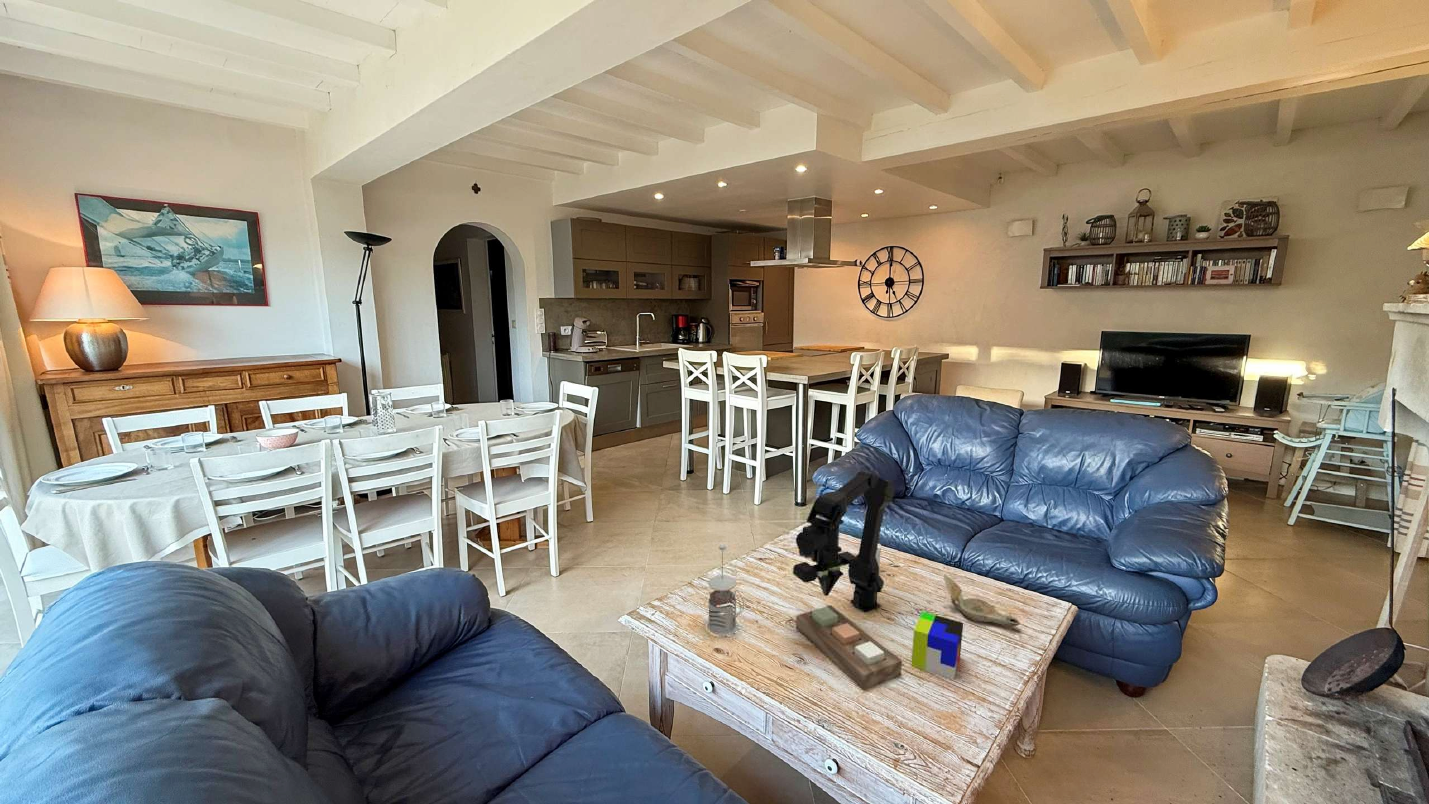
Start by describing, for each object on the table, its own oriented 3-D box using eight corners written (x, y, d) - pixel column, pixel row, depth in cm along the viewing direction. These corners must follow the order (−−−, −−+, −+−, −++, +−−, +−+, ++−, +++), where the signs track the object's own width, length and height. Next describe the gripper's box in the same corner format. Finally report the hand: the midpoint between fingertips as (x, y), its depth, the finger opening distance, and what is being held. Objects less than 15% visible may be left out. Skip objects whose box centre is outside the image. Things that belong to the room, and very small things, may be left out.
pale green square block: (826, 616, 158) (826, 606, 157) (837, 625, 153) (837, 615, 153) (811, 620, 155) (812, 611, 155) (822, 630, 151) (823, 620, 151)
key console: (830, 617, 162) (830, 605, 161) (900, 675, 137) (901, 660, 136) (796, 628, 157) (796, 615, 156) (863, 690, 132) (863, 675, 131)
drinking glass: (880, 578, 185) (882, 550, 183) (860, 576, 186) (861, 548, 184) (878, 569, 191) (880, 541, 189) (858, 567, 192) (860, 540, 191)
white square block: (869, 651, 142) (870, 641, 141) (883, 663, 137) (884, 652, 137) (854, 657, 140) (854, 646, 139) (867, 669, 135) (868, 658, 135)
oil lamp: (946, 599, 172) (949, 569, 170) (1022, 626, 158) (1026, 593, 156) (936, 610, 166) (938, 579, 164) (1014, 639, 152) (1017, 606, 150)
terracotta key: (846, 633, 150) (847, 623, 149) (859, 643, 145) (859, 632, 145) (831, 638, 148) (832, 627, 147) (844, 648, 143) (844, 638, 143)
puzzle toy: (953, 680, 136) (956, 643, 134) (911, 665, 141) (913, 630, 139) (960, 657, 144) (963, 622, 142) (920, 645, 149) (922, 611, 147)
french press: (718, 613, 164) (718, 534, 160) (751, 626, 157) (752, 544, 153) (698, 629, 156) (697, 546, 152) (732, 644, 150) (732, 557, 145)
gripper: (836, 525, 161) (834, 574, 164) (782, 537, 153) (781, 589, 156) (862, 539, 151) (859, 592, 154) (806, 553, 143) (804, 608, 146)
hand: (825, 594), depth 153 cm, fingers closed
